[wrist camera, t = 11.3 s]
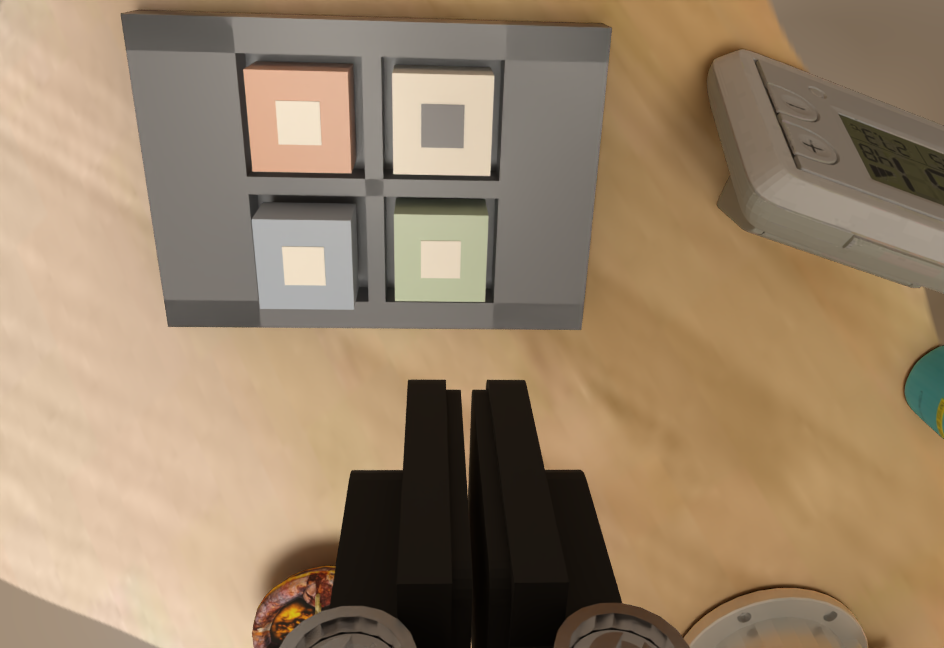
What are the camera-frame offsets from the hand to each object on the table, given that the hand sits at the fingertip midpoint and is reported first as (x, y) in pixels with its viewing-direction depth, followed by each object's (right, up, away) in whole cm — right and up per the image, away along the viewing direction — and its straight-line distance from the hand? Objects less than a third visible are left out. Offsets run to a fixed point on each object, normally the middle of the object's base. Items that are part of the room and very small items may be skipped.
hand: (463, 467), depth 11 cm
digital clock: (+18, +10, +26) cm, 33 cm away
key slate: (-7, +6, +25) cm, 27 cm away
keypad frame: (-4, +9, +25) cm, 27 cm away
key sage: (-1, +6, +26) cm, 27 cm away
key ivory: (-1, +12, +24) cm, 27 cm away
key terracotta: (-7, +12, +24) cm, 27 cm away
